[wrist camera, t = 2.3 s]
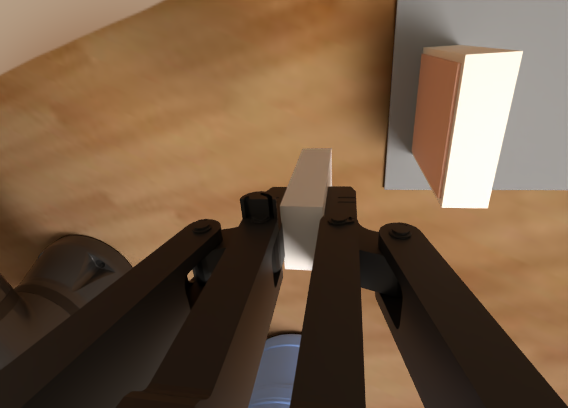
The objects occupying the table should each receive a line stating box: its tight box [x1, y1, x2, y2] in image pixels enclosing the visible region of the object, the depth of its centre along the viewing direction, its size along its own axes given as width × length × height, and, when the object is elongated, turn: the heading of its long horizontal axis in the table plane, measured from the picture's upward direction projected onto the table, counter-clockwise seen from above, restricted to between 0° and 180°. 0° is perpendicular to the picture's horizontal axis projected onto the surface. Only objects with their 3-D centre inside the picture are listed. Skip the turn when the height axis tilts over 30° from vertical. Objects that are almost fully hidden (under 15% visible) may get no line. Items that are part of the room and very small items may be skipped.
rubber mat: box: [384, 0, 568, 190], centre depth 31 cm, size 20×18×1 cm
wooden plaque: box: [412, 45, 523, 208], centre depth 27 cm, size 3×10×12 cm, turn 4°
